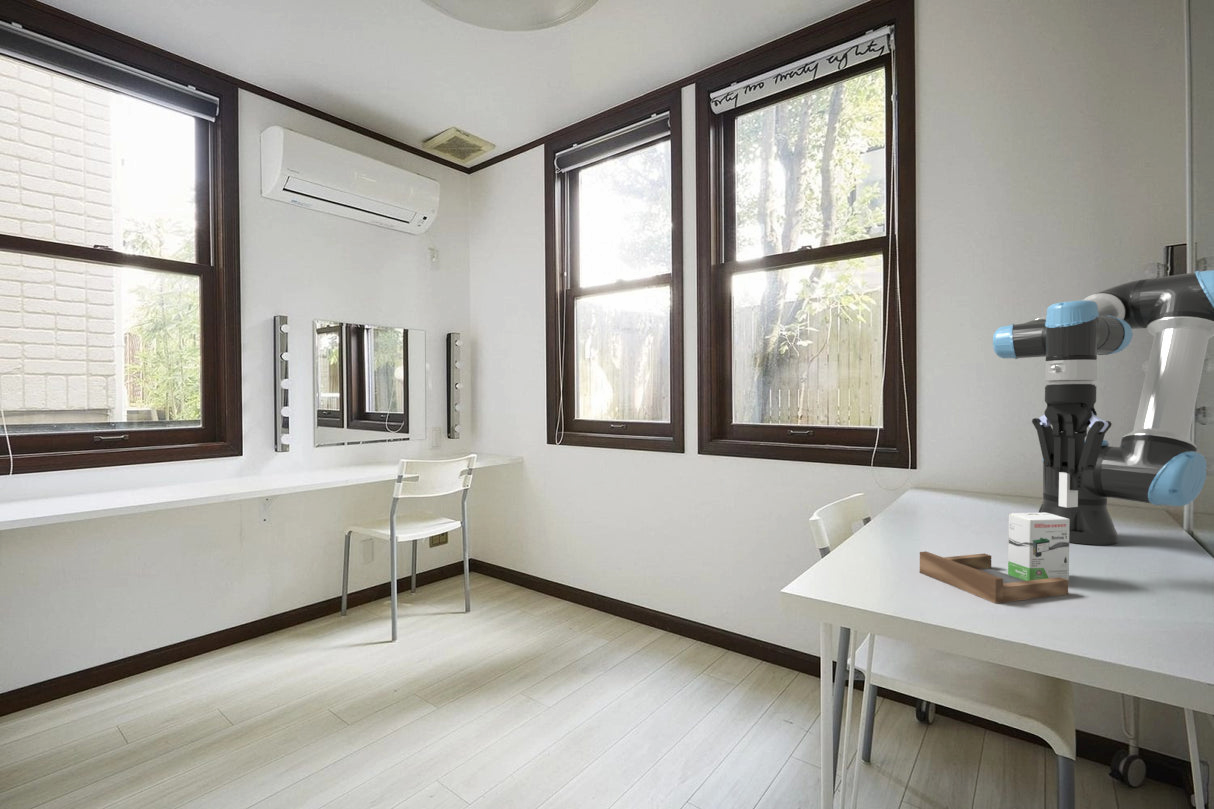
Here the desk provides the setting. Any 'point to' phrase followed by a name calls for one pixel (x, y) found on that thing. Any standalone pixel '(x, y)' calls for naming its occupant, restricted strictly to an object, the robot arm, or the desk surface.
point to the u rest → (987, 578)
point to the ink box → (1038, 546)
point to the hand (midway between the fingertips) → (1068, 506)
